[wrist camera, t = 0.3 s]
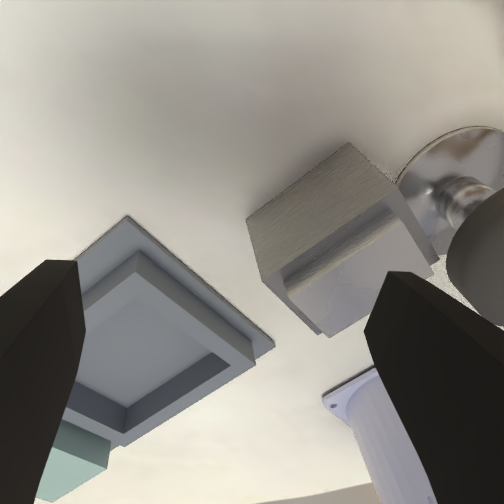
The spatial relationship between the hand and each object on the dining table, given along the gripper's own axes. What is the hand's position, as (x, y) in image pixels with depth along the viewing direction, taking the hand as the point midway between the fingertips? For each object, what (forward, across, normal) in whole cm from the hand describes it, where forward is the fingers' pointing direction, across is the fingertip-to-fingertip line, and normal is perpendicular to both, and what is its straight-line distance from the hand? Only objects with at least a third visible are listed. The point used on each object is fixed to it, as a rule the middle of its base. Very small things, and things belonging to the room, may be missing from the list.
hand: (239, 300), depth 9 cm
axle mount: (+10, -12, +1) cm, 16 cm away
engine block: (+10, -5, +2) cm, 11 cm away
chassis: (+10, +6, +14) cm, 18 cm away
